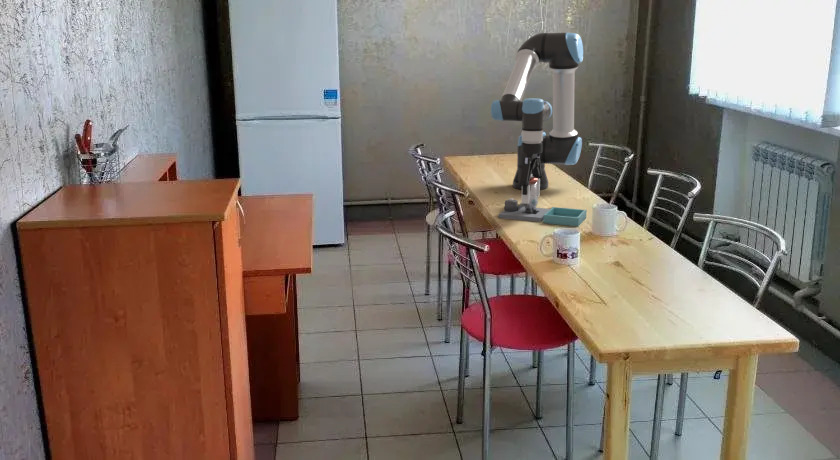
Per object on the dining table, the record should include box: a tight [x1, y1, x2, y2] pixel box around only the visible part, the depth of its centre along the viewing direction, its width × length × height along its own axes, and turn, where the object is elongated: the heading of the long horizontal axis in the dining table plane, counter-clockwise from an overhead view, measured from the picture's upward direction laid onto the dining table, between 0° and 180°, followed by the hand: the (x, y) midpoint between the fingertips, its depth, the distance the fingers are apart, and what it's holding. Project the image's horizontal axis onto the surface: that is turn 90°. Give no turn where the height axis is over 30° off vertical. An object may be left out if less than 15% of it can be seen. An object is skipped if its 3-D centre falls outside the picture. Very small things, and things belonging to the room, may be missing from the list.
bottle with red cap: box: [524, 177, 538, 214], centre depth 290 cm, size 5×5×14 cm
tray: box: [542, 206, 588, 227], centre depth 284 cm, size 13×13×3 cm
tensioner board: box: [498, 198, 551, 223], centre depth 292 cm, size 14×16×6 cm
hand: (530, 199), depth 290 cm, fingers open, 13 cm apart
